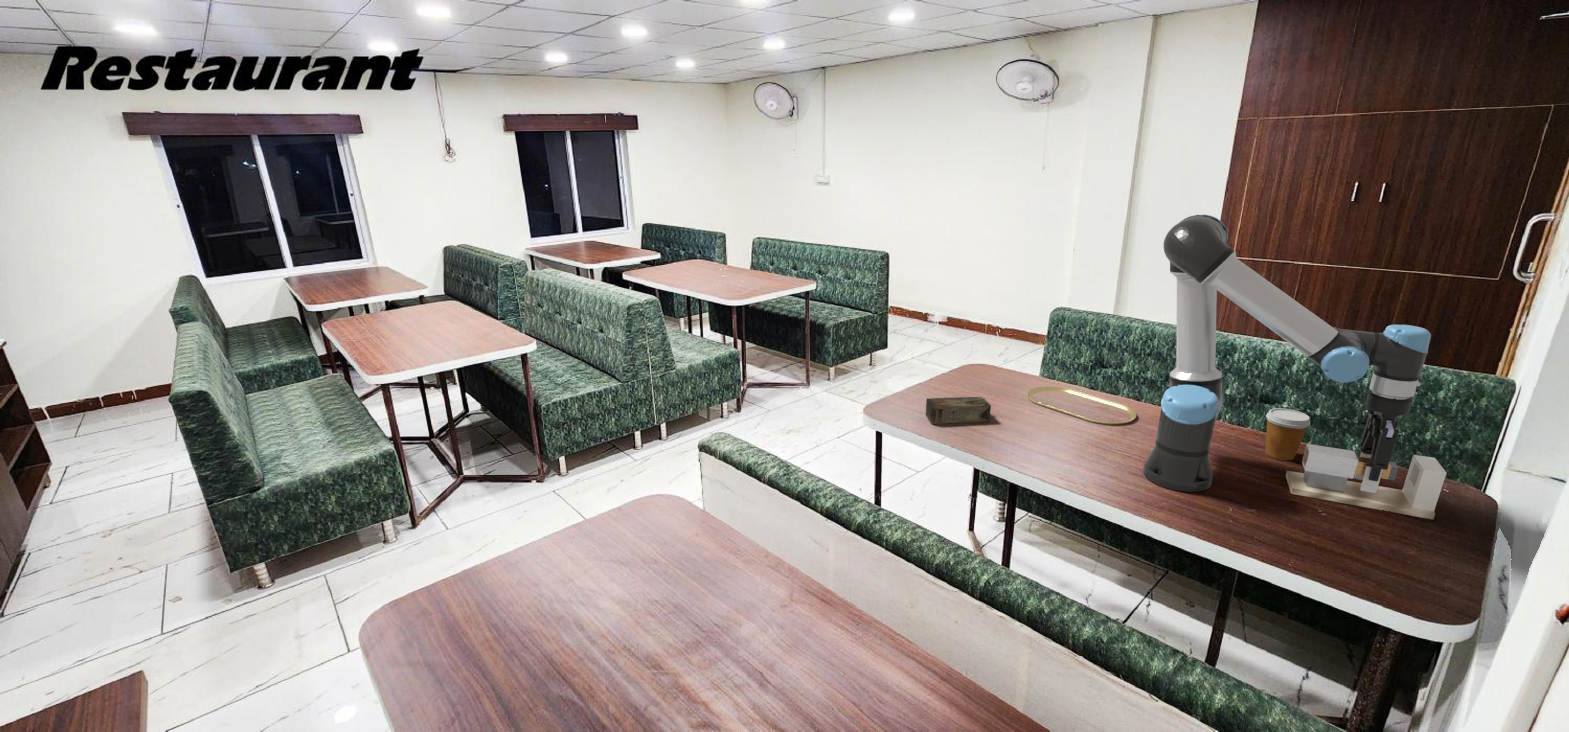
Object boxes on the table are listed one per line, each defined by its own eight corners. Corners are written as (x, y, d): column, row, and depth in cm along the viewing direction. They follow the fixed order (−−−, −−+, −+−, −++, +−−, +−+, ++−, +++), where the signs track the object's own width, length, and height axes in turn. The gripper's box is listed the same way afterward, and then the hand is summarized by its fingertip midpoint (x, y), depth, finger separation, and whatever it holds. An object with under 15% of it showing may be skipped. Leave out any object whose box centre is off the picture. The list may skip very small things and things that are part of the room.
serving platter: (1048, 386, 231) (1048, 382, 230) (1147, 416, 203) (1148, 411, 203) (1015, 399, 221) (1015, 395, 220) (1115, 432, 193) (1115, 427, 193)
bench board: (1291, 493, 156) (1292, 488, 156) (1285, 475, 164) (1287, 470, 164) (1433, 519, 144) (1435, 513, 144) (1419, 498, 152) (1421, 493, 152)
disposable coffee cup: (1309, 464, 170) (1319, 422, 166) (1268, 462, 172) (1277, 420, 168) (1290, 448, 179) (1299, 408, 175) (1251, 446, 180) (1260, 406, 177)
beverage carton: (990, 422, 202) (992, 403, 200) (930, 425, 202) (931, 406, 200) (982, 412, 210) (983, 394, 208) (924, 415, 210) (924, 397, 207)
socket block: (1411, 507, 146) (1423, 469, 143) (1402, 491, 153) (1413, 454, 150) (1433, 511, 144) (1446, 472, 141) (1423, 495, 151) (1434, 457, 148)
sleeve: (1301, 485, 157) (1309, 451, 154) (1298, 476, 161) (1306, 443, 158) (1348, 493, 153) (1358, 459, 150) (1344, 484, 157) (1353, 450, 154)
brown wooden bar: (1310, 466, 156) (1313, 454, 155) (1308, 461, 158) (1311, 449, 157) (1394, 480, 148) (1398, 468, 147) (1391, 474, 151) (1394, 462, 150)
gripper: (1426, 411, 136) (1396, 507, 143) (1401, 383, 151) (1376, 471, 158) (1379, 405, 139) (1352, 499, 147) (1359, 378, 155) (1336, 465, 162)
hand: (1364, 484), depth 153 cm, fingers open, 6 cm apart
